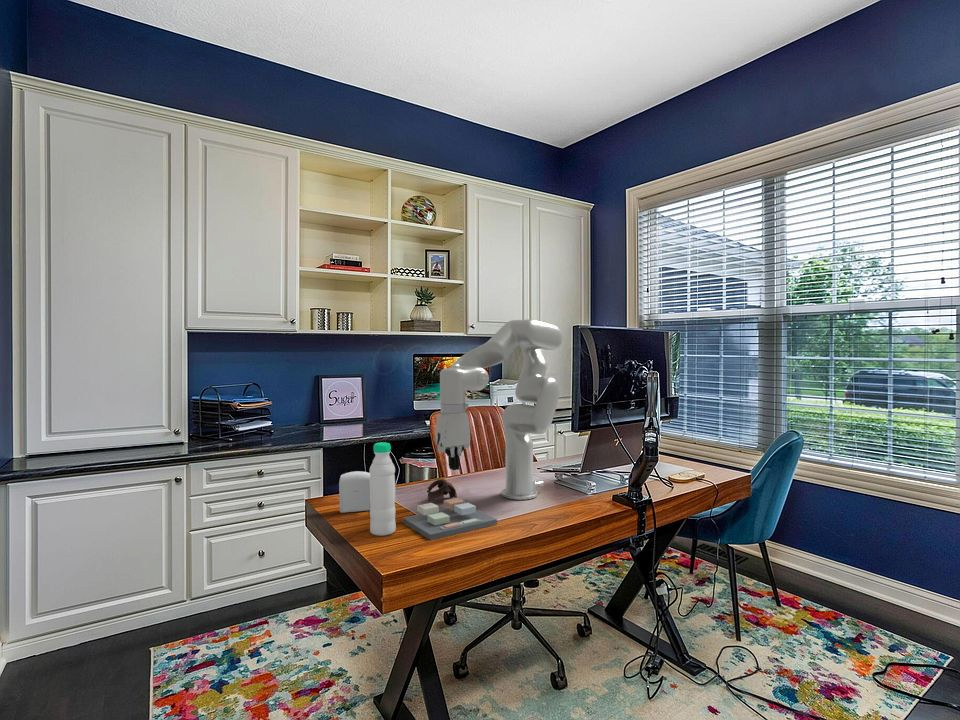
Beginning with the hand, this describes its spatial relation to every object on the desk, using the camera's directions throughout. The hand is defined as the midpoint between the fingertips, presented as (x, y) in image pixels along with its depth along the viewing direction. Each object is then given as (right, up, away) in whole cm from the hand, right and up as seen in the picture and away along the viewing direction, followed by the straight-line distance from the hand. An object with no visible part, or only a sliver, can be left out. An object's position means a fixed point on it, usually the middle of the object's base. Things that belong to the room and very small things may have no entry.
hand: (454, 469), depth 162 cm
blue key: (+3, -12, -5) cm, 13 cm away
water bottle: (-19, -15, -13) cm, 28 cm away
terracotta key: (0, -12, +1) cm, 12 cm away
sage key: (-4, -13, -10) cm, 17 cm away
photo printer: (-31, -15, +7) cm, 35 cm away
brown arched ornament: (-5, -14, +18) cm, 24 cm away
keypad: (-1, -15, -6) cm, 16 cm away
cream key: (-7, -12, -4) cm, 15 cm away
